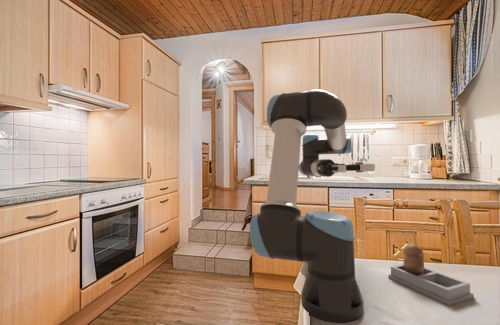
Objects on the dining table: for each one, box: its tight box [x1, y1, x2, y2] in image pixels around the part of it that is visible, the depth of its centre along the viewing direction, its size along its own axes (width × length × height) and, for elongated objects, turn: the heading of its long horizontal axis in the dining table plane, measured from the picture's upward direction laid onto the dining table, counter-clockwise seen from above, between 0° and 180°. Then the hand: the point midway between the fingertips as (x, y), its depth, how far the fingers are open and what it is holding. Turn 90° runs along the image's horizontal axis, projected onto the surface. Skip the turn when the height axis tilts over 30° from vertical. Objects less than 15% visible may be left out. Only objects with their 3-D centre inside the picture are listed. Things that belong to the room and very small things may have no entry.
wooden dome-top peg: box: [402, 243, 425, 276], centre depth 79 cm, size 5×5×10 cm
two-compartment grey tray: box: [388, 263, 475, 306], centre depth 75 cm, size 18×10×4 cm, turn 21°
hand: (360, 168), depth 96 cm, fingers open, 13 cm apart
